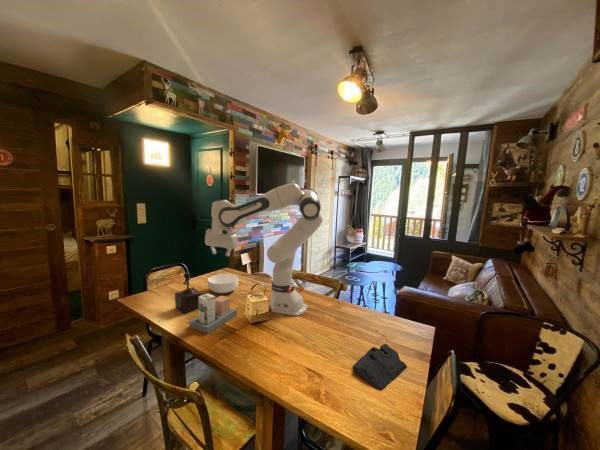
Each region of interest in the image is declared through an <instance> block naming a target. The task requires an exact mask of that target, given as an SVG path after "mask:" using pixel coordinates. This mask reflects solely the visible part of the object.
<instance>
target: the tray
mask: <svg viewBox="0 0 600 450" xmlns="http://www.w3.org/2000/svg"><path fill="white" fill-rule="evenodd" d="M236 316H238V311H237V309H235V308H231V298H230V297H228V296H225V295H219V296H217V297H215V321H213V322H212V323H210V324H208V325H207V326H206V325H203V324H200V323H199V316H197V317H195V318H193V319H191V320H190V321H189V327H190V328H191V327H192V329H194V330H196V329H197V331H199V332H202V333H204V332H205V333H204V334H207V333H208V334H211V333H213V331H215V330H217V329H218V328H220V327H221V326H222V325H225V324H226V323H227V322H229V321H231V320H232V319H233V318H235V317H236Z"/></svg>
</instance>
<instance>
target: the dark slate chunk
mask: <svg viewBox="0 0 600 450" xmlns="http://www.w3.org/2000/svg"><path fill="white" fill-rule="evenodd" d="M351 366H352V368H351V369H352V371H354V372H355V373H356V374H357V375H359V376H360V377H361V378H363V379H364V380H365V381H366V382H367V383H368V384H370V386H371V387H372V386H373V388H376V389H377V390H380V391H384V389H386V388H387V386H389V385H391V383H393V382H394V381H395V380H396V379H397V378H398V377H399V376H400V375H401V374H402V373H403V372H404V371H405V370H406V369H407V368H408V365H407V364H406V363H405V362H404V361H402V360H401V358H400V355H399V352H397V350H395V349H393V348H392V347H390V346H389V345H388V344H387V343H383V344H382V345H381V346H379V348H378V347H376V346H372V347H371V348H370V349H369V350H368V351H367V352H366V353H365V354H364V355H362V356H361V357H360V358H359V359H358V360H357V362H355V363H354V364H353V365H351Z"/></svg>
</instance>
